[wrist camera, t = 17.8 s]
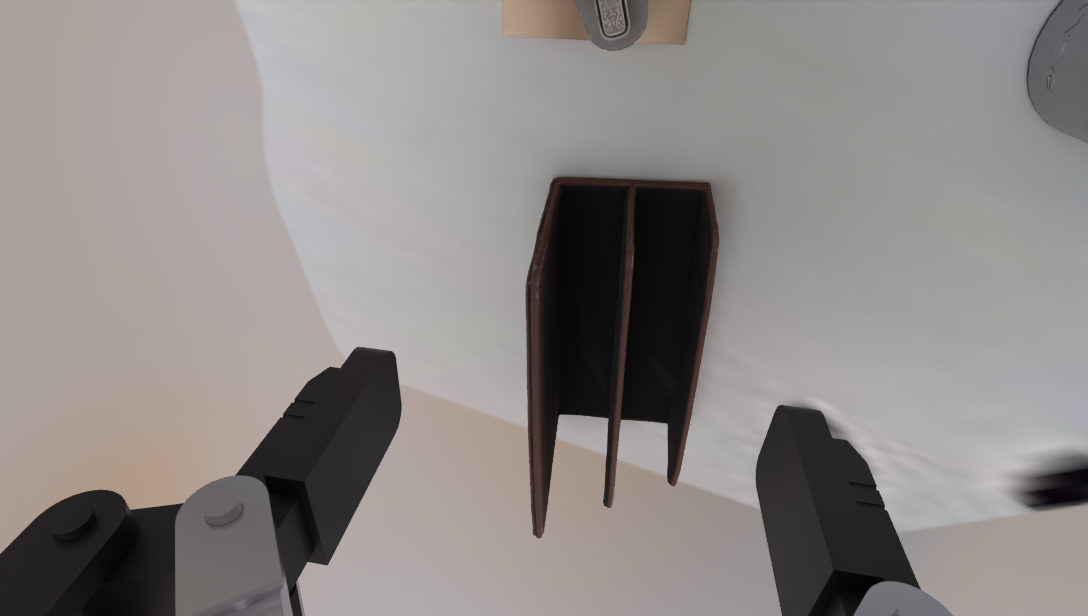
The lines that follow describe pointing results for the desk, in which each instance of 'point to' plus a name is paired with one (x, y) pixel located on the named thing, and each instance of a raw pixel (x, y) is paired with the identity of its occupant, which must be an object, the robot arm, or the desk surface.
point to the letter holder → (616, 314)
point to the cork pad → (550, 12)
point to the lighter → (613, 21)
